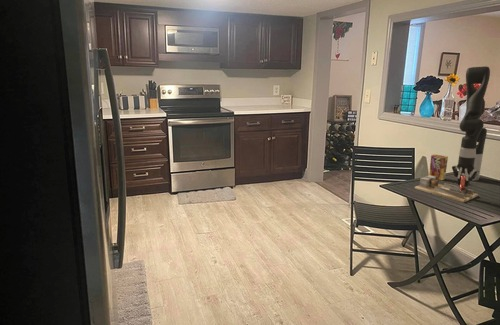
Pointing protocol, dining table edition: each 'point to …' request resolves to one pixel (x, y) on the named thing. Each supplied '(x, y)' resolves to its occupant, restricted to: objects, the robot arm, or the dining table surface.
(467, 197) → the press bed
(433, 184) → the nut
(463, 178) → the plate with copper rod
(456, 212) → the dining table surface
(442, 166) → the candy box
